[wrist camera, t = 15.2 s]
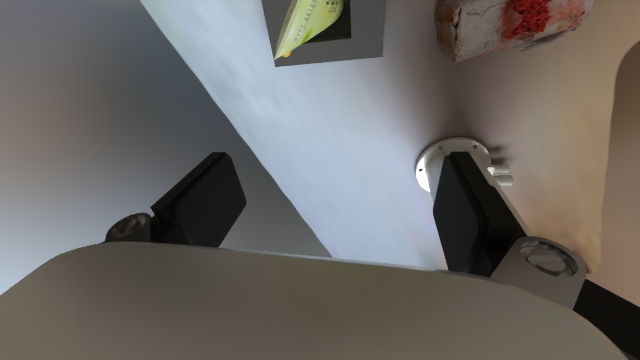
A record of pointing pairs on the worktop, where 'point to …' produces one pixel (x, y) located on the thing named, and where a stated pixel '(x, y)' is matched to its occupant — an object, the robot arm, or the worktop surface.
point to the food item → (504, 24)
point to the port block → (332, 48)
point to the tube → (306, 22)
